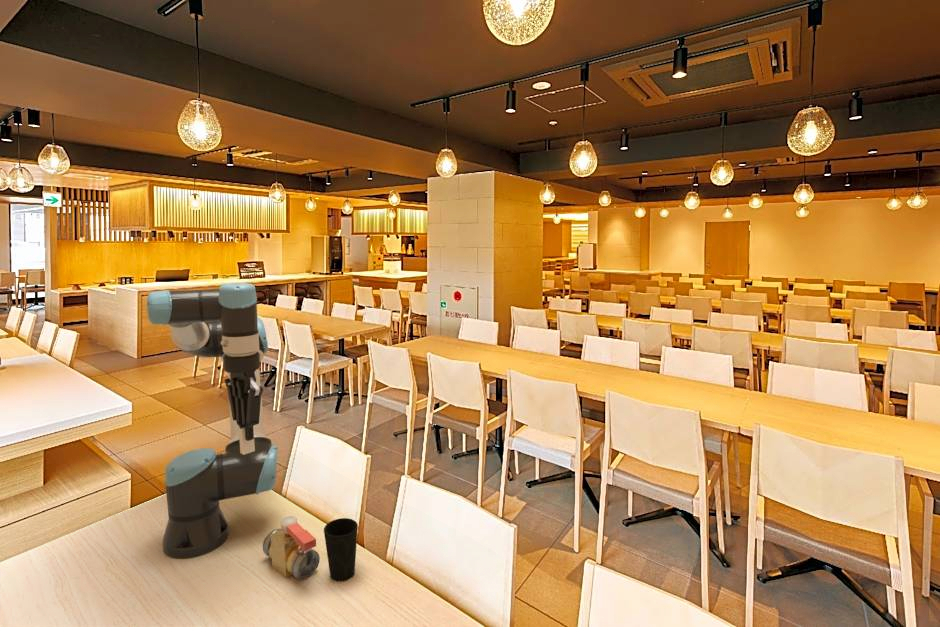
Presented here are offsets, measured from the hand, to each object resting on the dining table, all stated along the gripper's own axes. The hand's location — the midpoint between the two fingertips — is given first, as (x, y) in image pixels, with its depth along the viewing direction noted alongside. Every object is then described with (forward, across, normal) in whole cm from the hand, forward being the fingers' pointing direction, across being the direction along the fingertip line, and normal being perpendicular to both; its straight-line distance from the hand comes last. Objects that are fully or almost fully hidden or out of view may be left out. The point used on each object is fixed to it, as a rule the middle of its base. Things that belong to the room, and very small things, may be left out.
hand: (247, 451), depth 118 cm
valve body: (+29, +6, +6) cm, 31 cm away
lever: (+20, +11, +5) cm, 23 cm away
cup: (+30, +18, +12) cm, 37 cm away
